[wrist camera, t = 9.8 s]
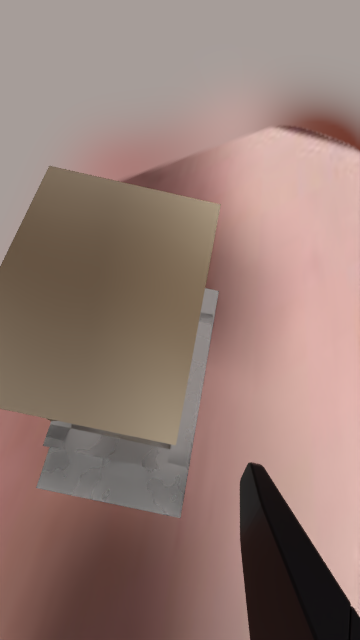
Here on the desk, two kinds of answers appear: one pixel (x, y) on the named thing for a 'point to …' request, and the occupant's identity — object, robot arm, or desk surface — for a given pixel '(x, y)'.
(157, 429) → the tan wooden block
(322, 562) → the robot arm
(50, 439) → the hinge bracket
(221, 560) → the desk surface
